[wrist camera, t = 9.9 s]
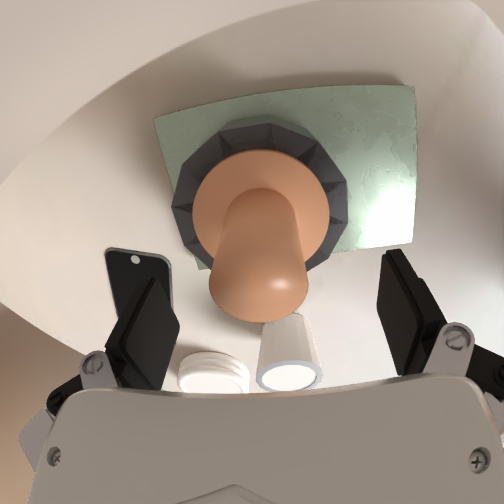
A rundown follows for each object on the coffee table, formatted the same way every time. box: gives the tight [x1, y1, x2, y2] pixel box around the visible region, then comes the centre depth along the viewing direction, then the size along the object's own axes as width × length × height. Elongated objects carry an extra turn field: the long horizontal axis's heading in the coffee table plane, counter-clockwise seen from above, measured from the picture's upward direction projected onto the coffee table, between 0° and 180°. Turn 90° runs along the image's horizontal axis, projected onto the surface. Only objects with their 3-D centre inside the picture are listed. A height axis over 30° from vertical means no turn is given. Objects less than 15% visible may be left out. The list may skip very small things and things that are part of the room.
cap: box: [192, 149, 329, 323], centre depth 16 cm, size 8×8×10 cm
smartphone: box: [105, 248, 176, 347], centre depth 31 cm, size 8×1×15 cm
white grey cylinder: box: [256, 313, 323, 392], centre depth 29 cm, size 7×7×7 cm
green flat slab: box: [153, 85, 417, 272], centre depth 20 cm, size 20×14×6 cm
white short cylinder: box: [177, 352, 250, 394], centre depth 37 cm, size 10×10×4 cm
